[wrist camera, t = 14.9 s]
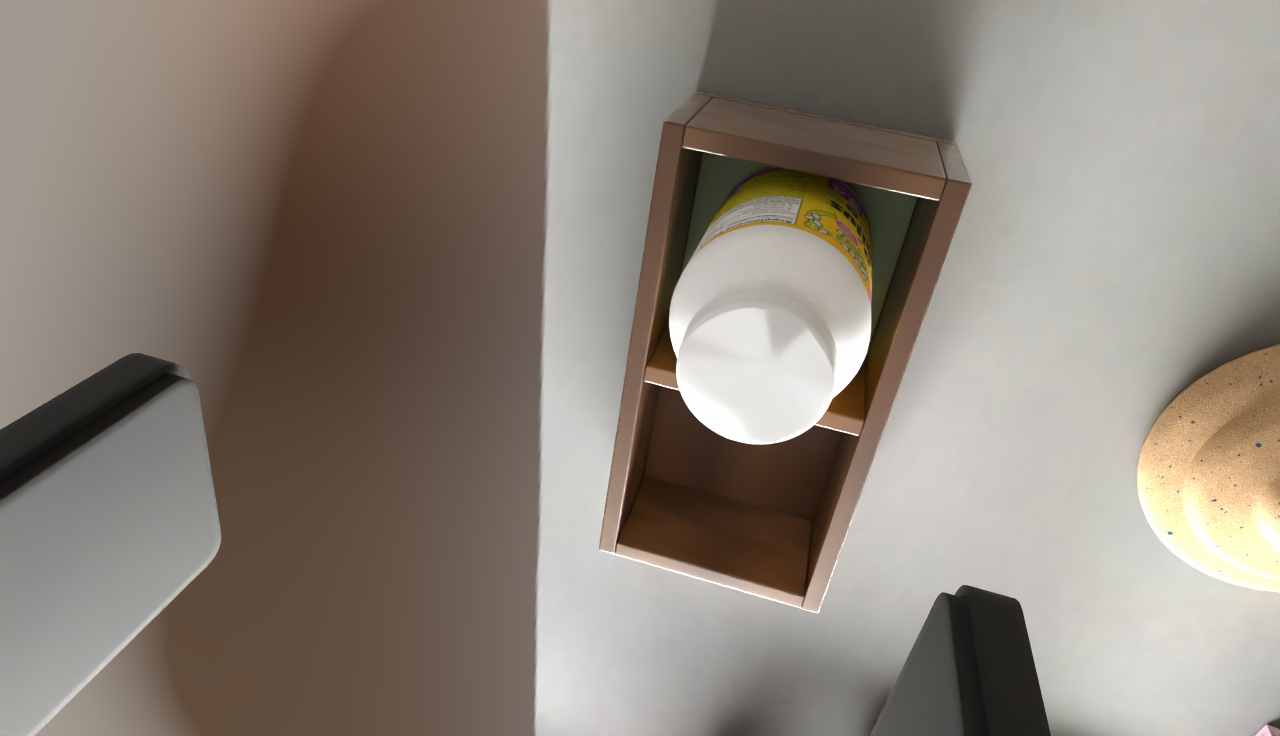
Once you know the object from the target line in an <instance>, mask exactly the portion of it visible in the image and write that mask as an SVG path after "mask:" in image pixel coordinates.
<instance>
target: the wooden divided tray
mask: <svg viewBox="0 0 1280 736" xmlns="http://www.w3.org/2000/svg"><path fill="white" fill-rule="evenodd" d="M773 166H774V167H778V168H783V169H788V170H793V171H798V172H802V173H807V174H812V175H817V176H822V177H826V178H831V179H836V180H841V181H843V182H845V183H846V184H847V185H848V186H849V187H850V188H851V189H852V190H853V191H854V192H855V193H856V195H857V196H858V197H859V199H860V201H861V202H862V204H863V206H864V208H865V210H866V212H867V215H868V218H869V221H870V225H871V230H872V300H871V334H870V341H869V345H868V349H867V352H866V355H865V358H864V360H863V362H862V364H861V366H860V368H859V370H858V372H857V373H856V375H855V376H854V377H853V378H852V380H851V381H850V382H849V383H848V384H847V386H846V387H845V388H844V389H843V390H842V391H840V392H839V393H838V394H837V395H836V396H834V397H833V398H832V400H831V402H830V404H829V406H828V408H827V410H826V411H825V413H824V414H823V415H822V417H821V418H820V419H819V420H818V421H817V422H816V423H815V424H814V425H813V426H812V427H811V428H809V429H808V430H806V431H805V432H803V433H801V434H800V435H798V436H795V437H793V438H790V439H788V440H785V441H781V442H777V443H770V444H750V443H744V442H739V441H735V440H732V439H729V438H726V437H724V436H722V435H720V434H718V433H716V432H715V431H713V430H711V429H710V428H708V427H707V426H706V425H704V424H703V423H702V422H701V421H700V420H699V419H698V418H697V417H696V416H695V415H694V414H693V413H692V412H691V410H690V409H689V407H688V406H687V404H686V403H685V401H684V399H683V397H682V394H681V392H680V390H679V387H678V382H677V375H676V364H677V356H676V354H675V351H674V348H673V345H672V341H671V337H670V329H669V313H670V304H671V300H672V296H673V293H674V290H675V287H676V285H677V283H678V281H679V279H680V277H681V275H682V273H683V271H684V269H685V267H686V266H687V264H688V262H689V261H690V259H691V257H692V256H693V254H694V252H695V250H696V249H697V247H698V245H699V243H700V241H701V240H702V238H703V236H704V234H705V232H706V230H707V229H708V227H709V225H710V223H711V222H712V220H713V218H714V216H715V215H716V213H717V211H718V209H719V208H720V206H721V204H722V203H723V201H724V200H725V199H726V197H727V196H728V195H729V193H730V192H731V191H732V190H733V189H734V188H735V187H736V186H737V185H738V184H739V183H740V182H742V181H743V180H744V179H746V178H747V177H749V176H750V175H752V174H754V173H756V172H758V171H760V170H763V169H766V168H769V167H773ZM971 185H972V184H971V181H970V178H969V176H968V173H967V170H966V168H965V165H964V162H963V160H962V157H961V154H960V152H959V149H958V146H957V144H956V142H952V141H947V140H942V139H937V138H932V137H927V136H922V135H917V134H912V133H907V132H902V131H897V130H892V129H887V128H882V127H876V126H871V125H866V124H861V123H856V122H851V121H846V120H841V119H836V118H831V117H826V116H821V115H816V114H811V113H806V112H800V111H795V110H790V109H785V108H780V107H775V106H770V105H765V104H760V103H755V102H750V101H745V100H740V99H735V98H730V97H724V96H719V95H714V94H709V93H704V92H699V91H696V92H695V93H694V94H693V95H692V96H691V97H690V98H689V99H688V100H686V101H685V102H684V103H683V104H682V105H681V106H680V107H679V108H678V109H677V110H676V111H675V112H673V113H672V114H671V115H670V116H669V117H668V118H667V119H666V120H665V121H664V122H663V127H662V134H661V140H660V147H659V153H658V160H657V167H656V173H655V180H654V187H653V193H652V200H651V207H650V213H649V220H648V226H647V233H646V240H645V246H644V253H643V260H642V266H641V273H640V280H639V286H638V293H637V299H636V306H635V313H634V319H633V326H632V333H631V339H630V346H629V352H628V359H627V366H626V372H625V379H624V386H623V392H622V399H621V406H620V412H619V419H618V425H617V432H616V439H615V445H614V452H613V459H612V465H611V472H610V479H609V485H608V492H607V498H606V505H605V512H604V518H603V525H602V532H601V538H600V545H599V550H601V551H605V552H608V553H612V554H614V553H615V554H616V555H619V556H622V557H626V558H629V559H633V560H636V561H640V562H643V563H646V564H650V565H653V566H657V567H660V568H664V569H667V570H671V571H674V572H677V573H681V574H684V575H688V576H691V577H695V578H698V579H702V580H705V581H709V582H712V583H715V584H719V585H722V586H726V587H729V588H733V589H736V590H740V591H743V592H747V593H750V594H753V595H757V596H760V597H764V598H767V599H771V600H774V601H778V602H781V603H784V604H788V605H791V606H795V607H798V608H802V609H804V610H807V611H811V612H814V613H819V610H820V607H821V604H822V602H823V599H824V596H825V593H826V590H827V588H828V585H829V582H830V579H831V576H832V574H833V571H834V568H835V565H836V562H837V560H838V557H839V554H840V551H841V548H842V546H843V543H844V540H845V537H846V534H847V532H848V529H849V526H850V523H851V521H852V518H853V515H854V512H855V509H856V507H857V504H858V501H859V498H860V495H861V493H862V490H863V487H864V484H865V481H866V479H867V476H868V473H869V470H870V467H871V465H872V462H873V459H874V456H875V453H876V451H877V448H878V445H879V442H880V439H881V437H882V434H883V431H884V428H885V426H886V423H887V420H888V417H889V414H890V412H891V409H892V406H893V403H894V400H895V398H896V395H897V392H898V389H899V386H900V384H901V381H902V378H903V375H904V372H905V370H906V367H907V364H908V361H909V358H910V356H911V353H912V350H913V347H914V345H915V342H916V339H917V336H918V333H919V331H920V328H921V325H922V322H923V319H924V317H925V314H926V311H927V308H928V305H929V303H930V300H931V297H932V294H933V291H934V289H935V286H936V283H937V280H938V277H939V275H940V272H941V269H942V266H943V263H944V261H945V258H946V255H947V252H948V250H949V247H950V244H951V241H952V238H953V236H954V233H955V230H956V227H957V224H958V222H959V219H960V216H961V213H962V210H963V208H964V205H965V202H966V199H967V196H968V194H969V191H970V188H971Z"/></svg>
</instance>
